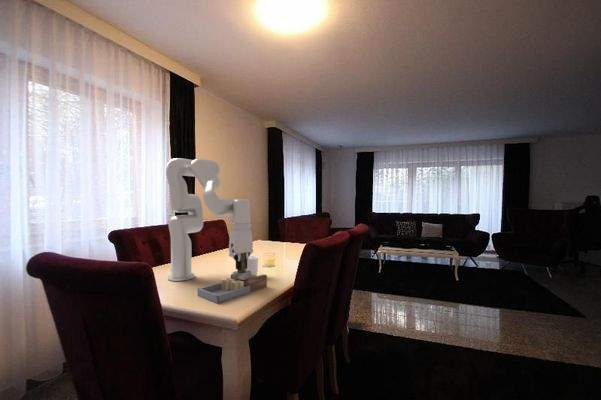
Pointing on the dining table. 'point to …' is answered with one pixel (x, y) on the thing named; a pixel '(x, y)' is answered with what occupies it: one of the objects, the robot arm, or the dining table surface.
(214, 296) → the tray
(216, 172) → the robot arm
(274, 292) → the dining table surface
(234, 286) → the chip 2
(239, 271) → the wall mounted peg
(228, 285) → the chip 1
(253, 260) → the white cup
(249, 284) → the slot block
